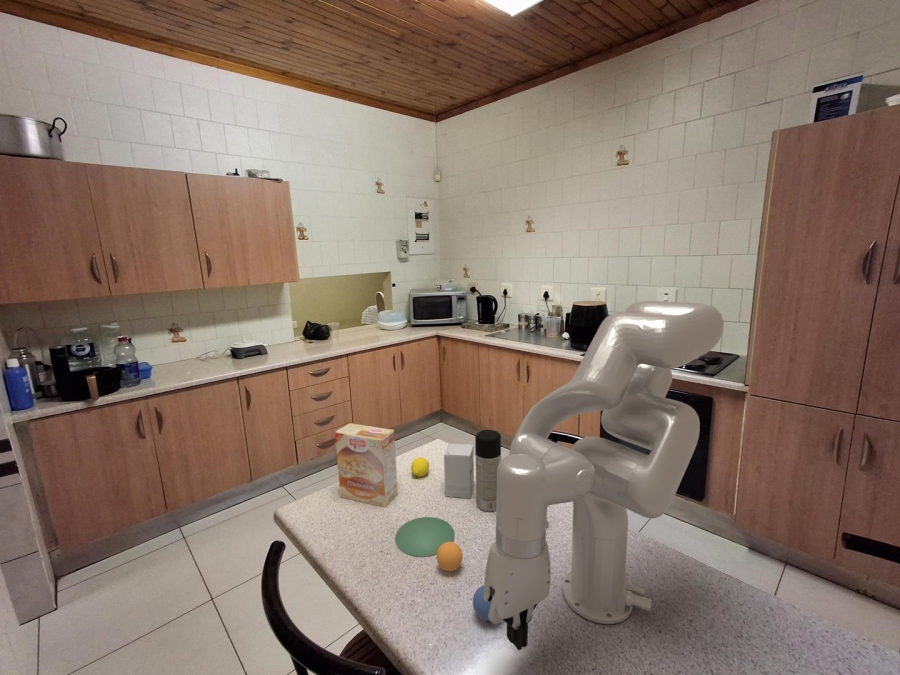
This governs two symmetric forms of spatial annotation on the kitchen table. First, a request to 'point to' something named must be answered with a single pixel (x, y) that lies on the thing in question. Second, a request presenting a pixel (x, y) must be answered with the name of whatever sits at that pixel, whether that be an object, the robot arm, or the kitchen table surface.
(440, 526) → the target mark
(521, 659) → the kitchen table surface
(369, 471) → the coffeecake box
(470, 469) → the supplement box
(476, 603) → the blue ball
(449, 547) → the object ball
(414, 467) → the lemon
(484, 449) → the spray can
